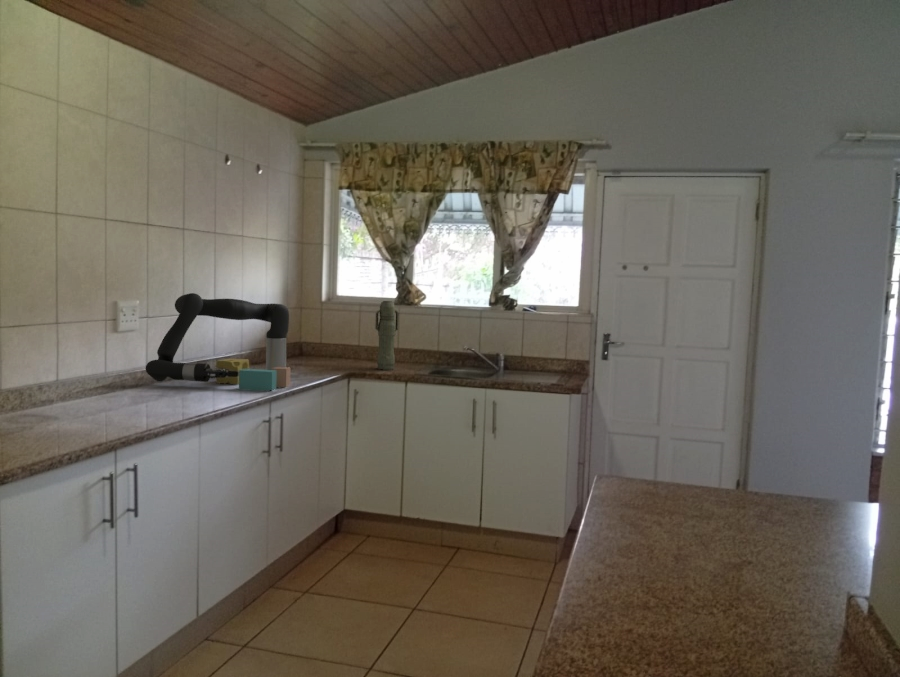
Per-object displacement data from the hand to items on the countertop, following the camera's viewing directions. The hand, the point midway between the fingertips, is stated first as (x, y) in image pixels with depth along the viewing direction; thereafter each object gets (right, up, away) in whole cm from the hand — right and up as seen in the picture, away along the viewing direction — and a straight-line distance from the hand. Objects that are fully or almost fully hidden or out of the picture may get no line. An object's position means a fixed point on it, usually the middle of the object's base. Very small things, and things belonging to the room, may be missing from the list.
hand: (237, 373), depth 292 cm
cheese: (-7, -5, +16) cm, 18 cm away
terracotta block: (+15, -6, +10) cm, 19 cm away
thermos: (+53, -1, +77) cm, 94 cm away
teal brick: (+8, -6, 0) cm, 10 cm away
